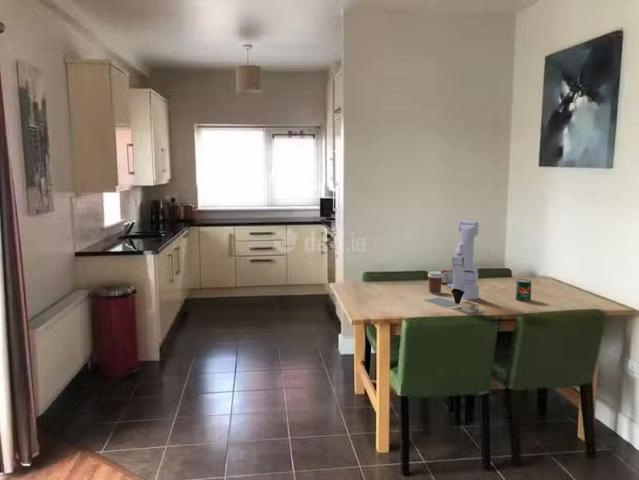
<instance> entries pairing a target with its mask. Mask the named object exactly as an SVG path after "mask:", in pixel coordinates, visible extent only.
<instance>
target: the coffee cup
mask: <svg viewBox="0 0 639 480" xmlns="http://www.w3.org/2000/svg"><path fill="white" fill-rule="evenodd" d="M427 278H428V289H429V293H430V294H432V293H434V294H433V295H438V294H441V292H442V291H441V290H442V284H443V283H442V278H443V275H442V273H441V271H436V270H435V271H432V270H431V271H429V273H428V274H427Z"/></svg>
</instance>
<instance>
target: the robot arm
mask: <svg viewBox="0 0 639 480" xmlns="http://www.w3.org/2000/svg"><path fill="white" fill-rule="evenodd" d="M479 227H480V226H479V221H478V220H477V221H476V220H475V221H473V220H460V221H459V222H458V231H459V233H460V238H459V239H460V240H459V243H458V244H457V245H456V248H455V252H454V255H453V256H452V258H451V264H452V265H451V268H452V269H451V270H453V283H446V288H449V289H451V290H450V291H451V293H452V297H453V300H454V302H455V303H456V304H461V300H462V299H463V300H467V301H468V300H478V299H480V297H479V295H480V294H479V291H480V287H479V286H480V285H479V284H478V283H477V282H478V281H479V269H478V268H477V267H476V266H474V251H475V238H476V237H477V236H479V231H480V230H479Z"/></svg>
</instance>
